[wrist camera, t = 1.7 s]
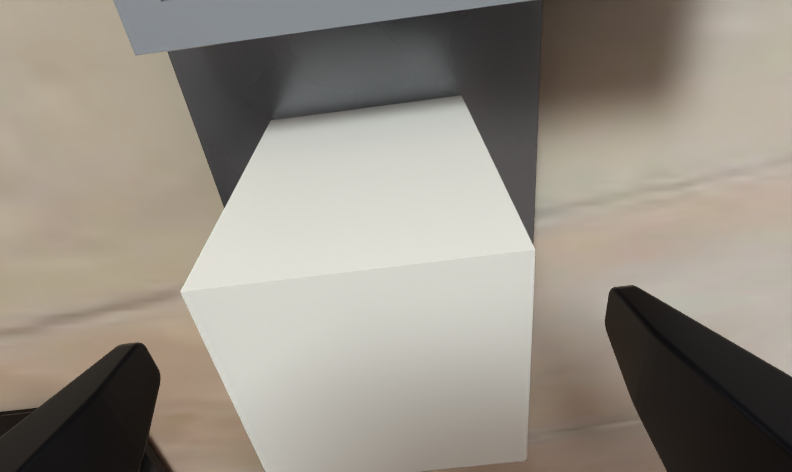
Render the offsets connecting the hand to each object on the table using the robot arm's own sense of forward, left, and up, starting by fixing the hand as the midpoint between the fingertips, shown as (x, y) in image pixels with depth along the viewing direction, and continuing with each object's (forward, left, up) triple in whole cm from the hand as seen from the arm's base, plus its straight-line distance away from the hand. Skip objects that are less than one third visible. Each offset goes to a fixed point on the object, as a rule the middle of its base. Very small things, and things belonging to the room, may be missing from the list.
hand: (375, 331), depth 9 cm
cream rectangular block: (0, 0, -6) cm, 6 cm away
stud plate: (0, 0, -7) cm, 7 cm away
